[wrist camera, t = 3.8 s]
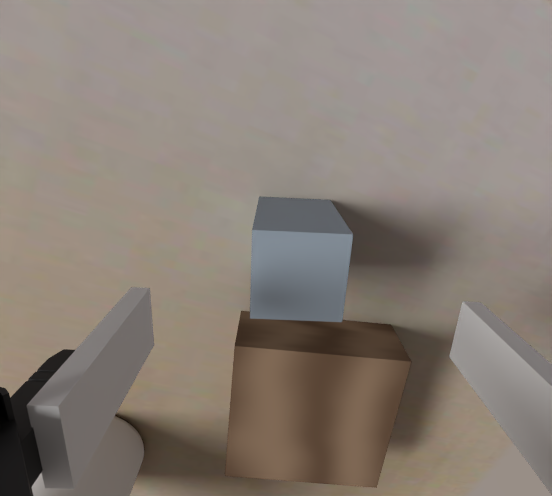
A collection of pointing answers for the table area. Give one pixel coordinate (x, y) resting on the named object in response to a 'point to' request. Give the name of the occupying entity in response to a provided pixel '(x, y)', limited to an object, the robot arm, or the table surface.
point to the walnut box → (313, 400)
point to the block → (299, 260)
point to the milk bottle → (106, 465)
